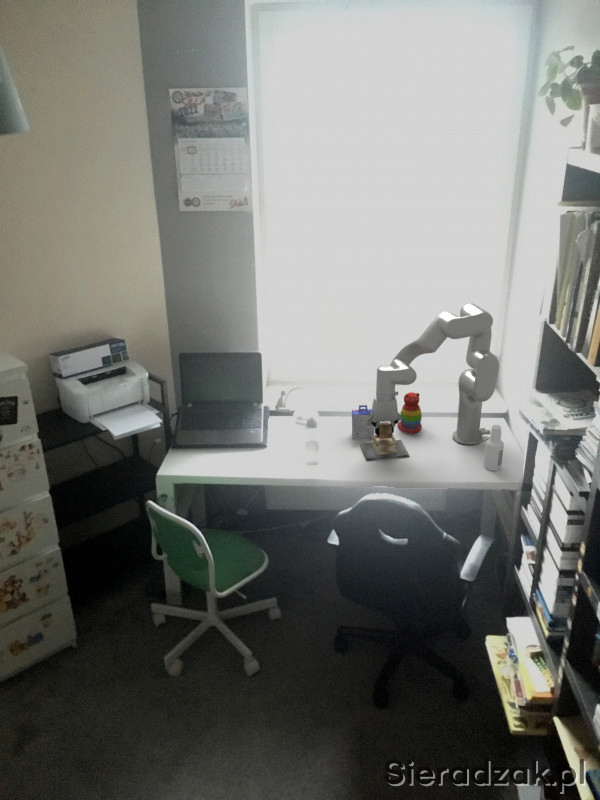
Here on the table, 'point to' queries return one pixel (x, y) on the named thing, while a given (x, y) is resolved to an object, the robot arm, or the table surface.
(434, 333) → the robot arm
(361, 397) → the table surface
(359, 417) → the ink cartridge box
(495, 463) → the spray bottle
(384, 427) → the walnut block
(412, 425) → the stacking bear
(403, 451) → the build base
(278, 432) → the table surface
